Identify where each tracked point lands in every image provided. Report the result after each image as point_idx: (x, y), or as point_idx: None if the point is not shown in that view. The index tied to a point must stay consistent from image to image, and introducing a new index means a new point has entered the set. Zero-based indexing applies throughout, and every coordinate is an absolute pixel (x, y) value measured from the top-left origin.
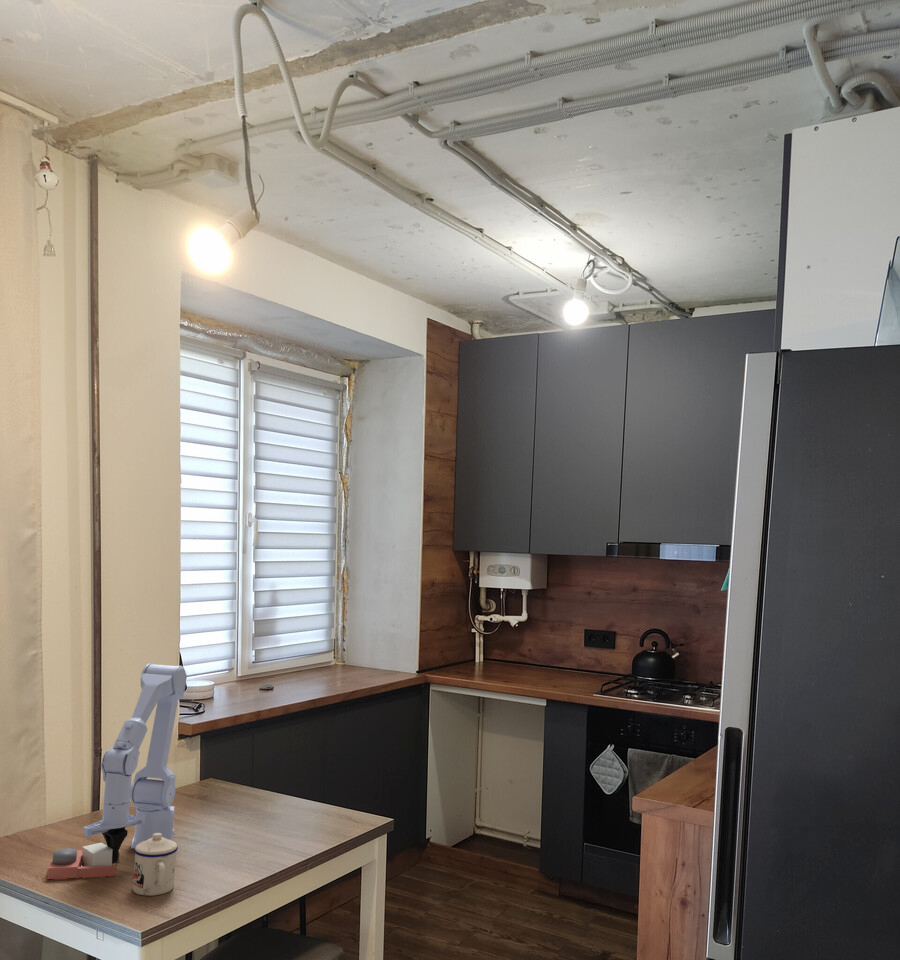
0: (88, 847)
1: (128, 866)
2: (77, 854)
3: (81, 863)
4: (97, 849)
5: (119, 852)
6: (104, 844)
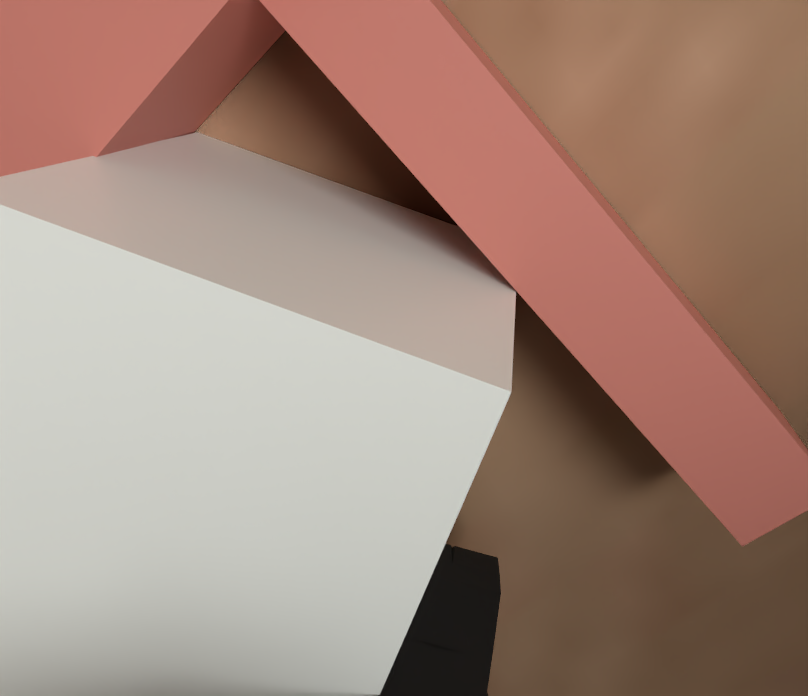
0: (33, 381)
1: (611, 665)
2: (55, 16)
3: (173, 140)
4: (102, 642)
5: (759, 533)
6: (428, 561)
